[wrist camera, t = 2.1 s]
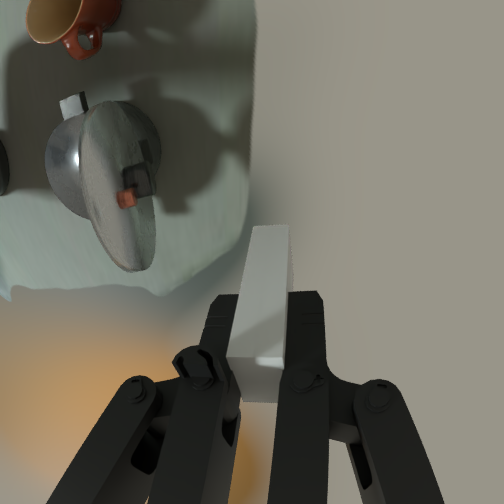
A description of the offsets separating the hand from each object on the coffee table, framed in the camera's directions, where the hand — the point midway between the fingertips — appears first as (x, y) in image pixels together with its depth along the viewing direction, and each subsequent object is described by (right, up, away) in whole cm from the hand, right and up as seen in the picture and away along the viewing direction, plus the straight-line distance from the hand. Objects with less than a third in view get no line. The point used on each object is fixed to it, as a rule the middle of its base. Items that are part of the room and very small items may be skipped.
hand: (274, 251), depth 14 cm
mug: (-20, +30, +14) cm, 38 cm away
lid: (-12, +6, +11) cm, 18 cm away
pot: (-20, +14, +25) cm, 35 cm away
